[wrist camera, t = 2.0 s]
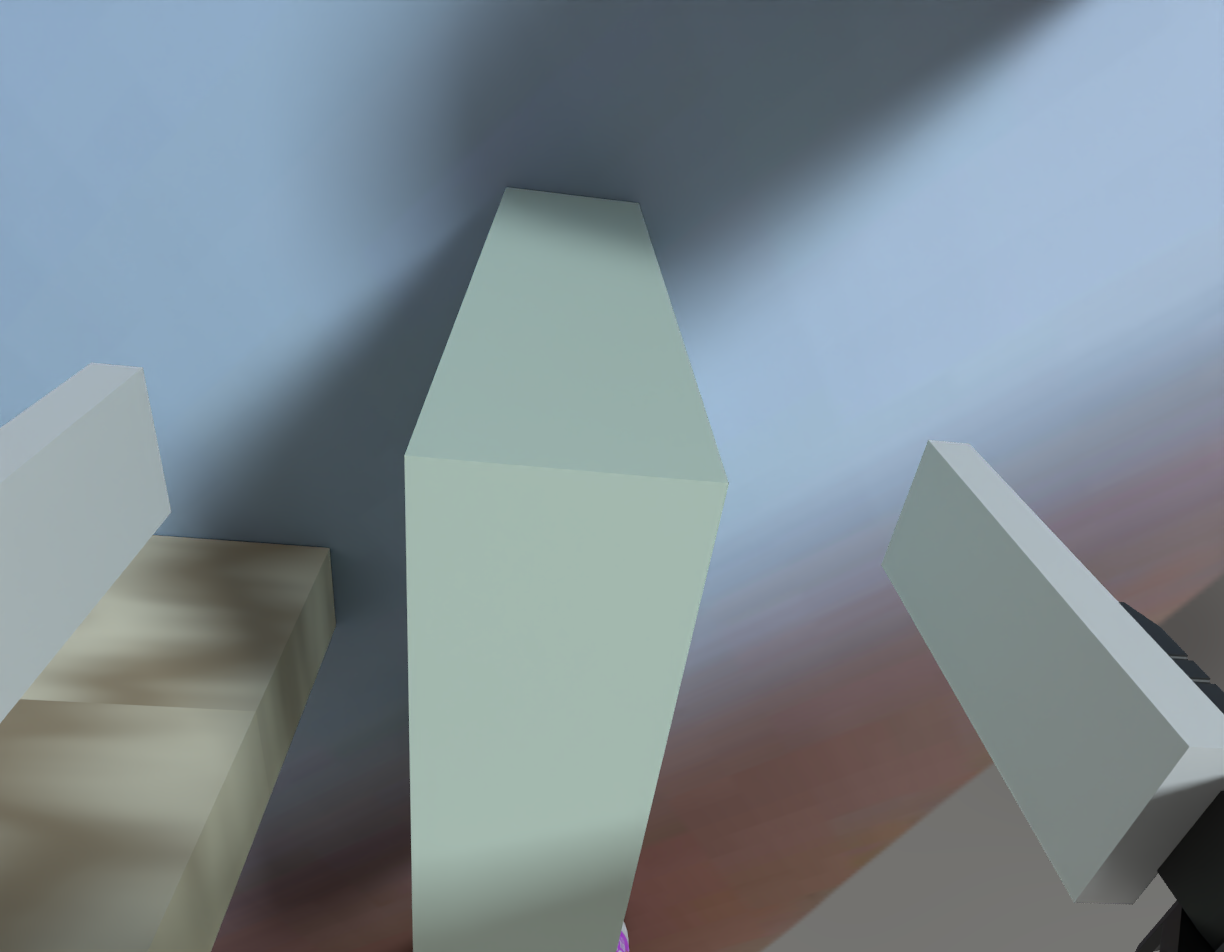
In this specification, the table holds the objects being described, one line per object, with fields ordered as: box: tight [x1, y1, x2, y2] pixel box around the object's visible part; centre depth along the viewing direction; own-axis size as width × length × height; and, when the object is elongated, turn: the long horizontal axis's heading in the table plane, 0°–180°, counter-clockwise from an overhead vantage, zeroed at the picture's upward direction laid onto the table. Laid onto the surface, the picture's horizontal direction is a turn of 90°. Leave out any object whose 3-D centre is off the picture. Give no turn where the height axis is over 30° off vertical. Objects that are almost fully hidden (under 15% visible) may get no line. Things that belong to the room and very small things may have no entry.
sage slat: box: [404, 187, 729, 952], centre depth 17 cm, size 20×3×12 cm, turn 173°
